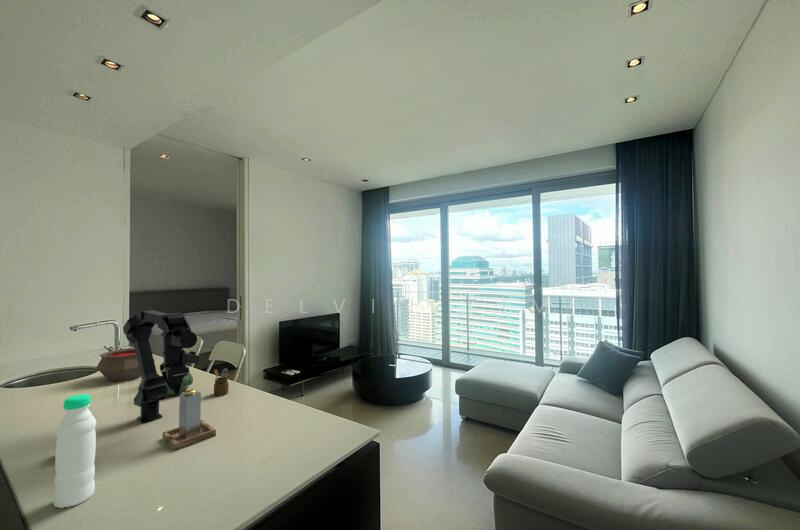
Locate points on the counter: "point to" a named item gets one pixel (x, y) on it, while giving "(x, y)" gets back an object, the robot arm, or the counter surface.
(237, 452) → the counter surface
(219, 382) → the utensil holder
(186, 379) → the vegetable
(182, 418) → the grey tall block
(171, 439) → the tray
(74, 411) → the white milk bottle
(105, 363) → the brown pot
